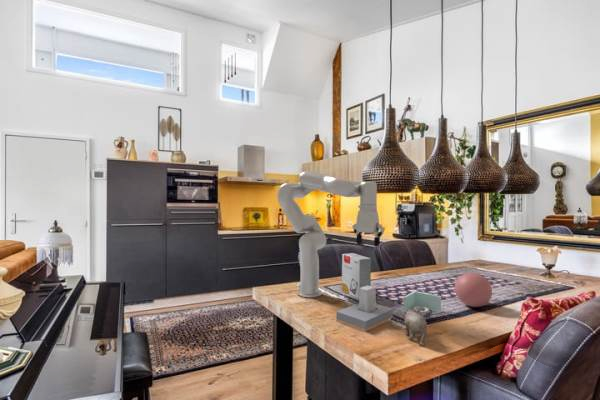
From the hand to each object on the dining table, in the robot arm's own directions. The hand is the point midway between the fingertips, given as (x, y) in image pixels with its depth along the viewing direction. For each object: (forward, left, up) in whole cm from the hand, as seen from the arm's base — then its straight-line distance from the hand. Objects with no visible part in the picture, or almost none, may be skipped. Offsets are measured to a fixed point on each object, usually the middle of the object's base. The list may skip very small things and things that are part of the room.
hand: (367, 244), depth 154 cm
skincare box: (+10, -14, -28) cm, 32 cm away
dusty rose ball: (+33, +37, -28) cm, 57 cm away
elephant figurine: (+32, -15, -29) cm, 45 cm away
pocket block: (+10, -16, -28) cm, 34 cm away
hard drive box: (-14, +10, -29) cm, 33 cm away
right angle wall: (+22, +10, -29) cm, 38 cm away
